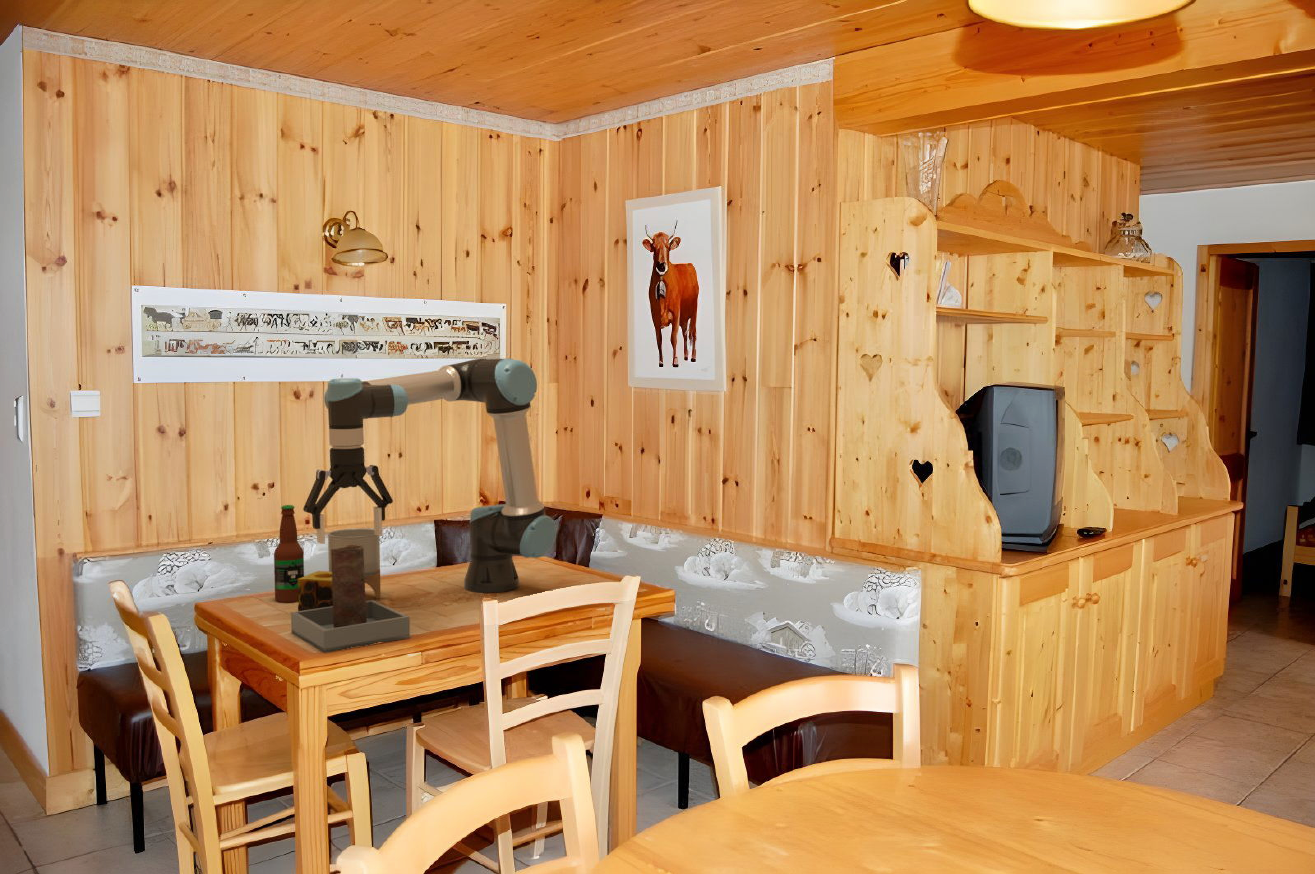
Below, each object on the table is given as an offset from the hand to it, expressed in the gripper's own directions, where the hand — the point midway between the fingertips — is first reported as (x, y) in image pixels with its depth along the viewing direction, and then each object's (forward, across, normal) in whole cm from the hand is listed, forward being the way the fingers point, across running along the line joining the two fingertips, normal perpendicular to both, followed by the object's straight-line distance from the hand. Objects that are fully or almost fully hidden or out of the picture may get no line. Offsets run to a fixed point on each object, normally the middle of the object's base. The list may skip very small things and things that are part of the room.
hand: (350, 539), depth 240 cm
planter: (+23, -14, -33) cm, 43 cm away
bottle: (+23, 0, -42) cm, 48 cm away
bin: (+22, +1, 0) cm, 23 cm away
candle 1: (+23, -2, -22) cm, 32 cm away
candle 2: (+22, +1, 0) cm, 22 cm away
